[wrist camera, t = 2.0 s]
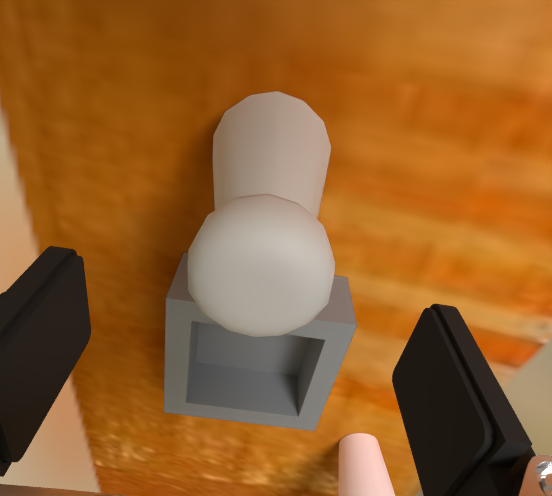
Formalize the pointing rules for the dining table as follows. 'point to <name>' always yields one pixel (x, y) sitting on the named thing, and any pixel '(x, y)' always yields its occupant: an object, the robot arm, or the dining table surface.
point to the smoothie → (362, 467)
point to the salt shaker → (265, 220)
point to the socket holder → (253, 362)
